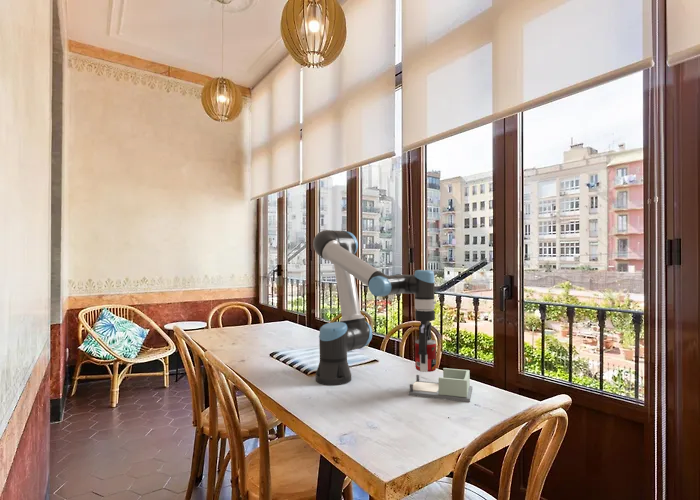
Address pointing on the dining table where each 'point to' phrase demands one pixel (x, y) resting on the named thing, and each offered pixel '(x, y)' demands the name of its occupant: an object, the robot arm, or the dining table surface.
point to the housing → (454, 382)
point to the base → (434, 391)
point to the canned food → (430, 355)
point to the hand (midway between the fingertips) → (425, 368)
